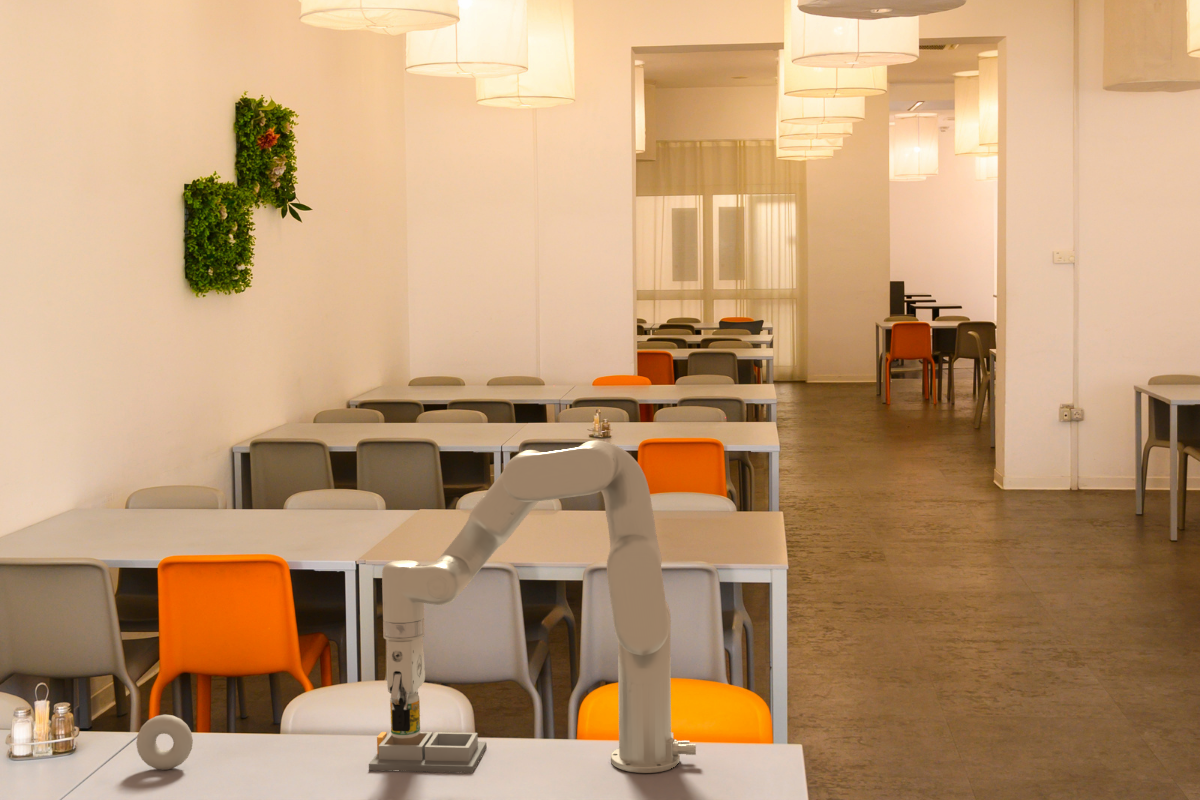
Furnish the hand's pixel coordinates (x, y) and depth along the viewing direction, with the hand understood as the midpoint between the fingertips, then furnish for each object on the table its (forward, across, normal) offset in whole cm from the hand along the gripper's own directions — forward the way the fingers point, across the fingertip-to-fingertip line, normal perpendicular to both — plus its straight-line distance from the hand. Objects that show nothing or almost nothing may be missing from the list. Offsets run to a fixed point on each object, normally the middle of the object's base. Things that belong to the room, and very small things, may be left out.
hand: (405, 724), depth 218 cm
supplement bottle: (+2, 0, 0) cm, 2 cm away
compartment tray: (+6, 0, -4) cm, 8 cm away
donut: (+7, -8, +43) cm, 44 cm away
